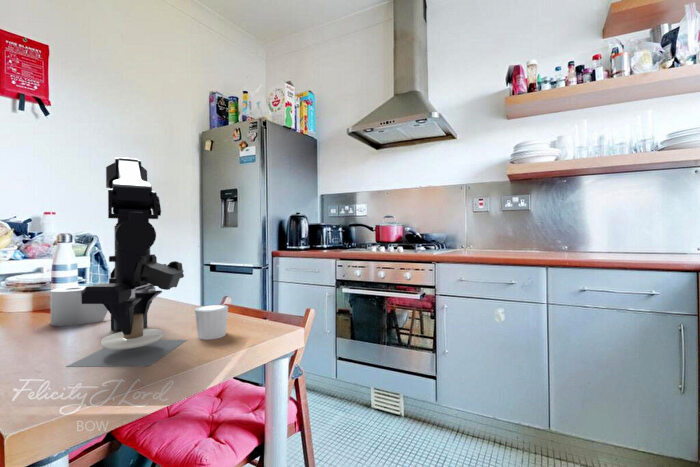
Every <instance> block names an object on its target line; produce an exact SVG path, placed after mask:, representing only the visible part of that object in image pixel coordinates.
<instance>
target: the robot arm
mask: <svg viewBox="0 0 700 467" xmlns="http://www.w3.org/2000/svg"><path fill="white" fill-rule="evenodd" d="M105 183H106V184H105V185H106V186H105V187H106V189H107V193H108V194H107V195H108V196H107V200H108V201H107V208H108V210H107V212H108V213H107V215H108V216H107V218H108V219H116V220H117V223H116V224H115V225H114V255H109V256H108V262H109V263H110V262H113V263H114V268H112V271H111V272H110V275H109V276H110V278H109V279H108V281H106V283H97V284H93V285H86V286H87V287H86V288H85V289H84V290H83V291H82V292H81V304H103V305H104V306H105V307H106V308H107V310H108V311H107V312H108V313H109V314H110V331H114V332H115V333H118V332H123V334H124V335H130V334H131V330H132V324H133V314H134V313H142V314H143V329H146V328H147V327H148V313H149V309H150V307H151V304H152V303H153V300H154V299H155V298H156V297H158V295H160V294H162V293H163V290H164V291H166V290H170V289H172V288H177V287H178V285H179V282H180V279H183V278H184V277H185V275H184V274H185V273H184V270H183V263H181V262H179V261H176V260H175V261H174V260H173V261H170V262H169V263H168V264H167V263H163V264H162V263H159V262H157V259H158V258H157V256H156V254H153V253H152V254H151V247H152V246H153V245H154V243H155V242H156V239H157V232H156V229H155V227H154V225H152V224H151V223H150V220H158V219H159V217H160V216H161V214H162V210H161V201H160V197H159V196H158V195H157V194H158V193H157V191H153V187H152V185H151V183H150V182H149V181H148V170H147V169H146V168H145V167H143V166H142V161H141V160H140V159H139V158H133V157H132V158H130V157H122V156H119V157H115V158H114V162H113V163H111V164H110V165H109V164H108V165H107V166H106V167H105ZM156 287H158V289H161V290H156Z"/></svg>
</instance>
